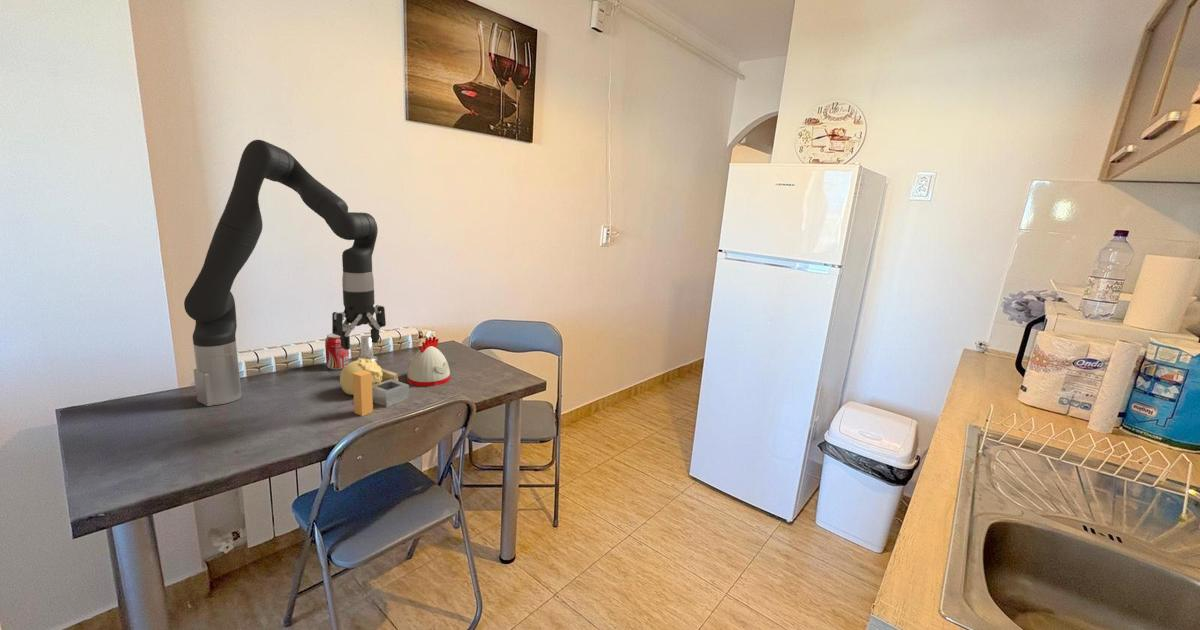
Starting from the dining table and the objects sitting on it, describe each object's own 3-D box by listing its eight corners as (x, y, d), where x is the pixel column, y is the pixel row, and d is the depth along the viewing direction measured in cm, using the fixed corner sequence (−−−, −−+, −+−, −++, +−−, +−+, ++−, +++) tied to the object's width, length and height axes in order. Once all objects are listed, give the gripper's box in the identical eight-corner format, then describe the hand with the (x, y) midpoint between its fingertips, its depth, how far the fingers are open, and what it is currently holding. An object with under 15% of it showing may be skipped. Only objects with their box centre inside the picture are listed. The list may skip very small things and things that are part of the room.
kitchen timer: (458, 377, 164) (458, 336, 160) (429, 389, 151) (428, 346, 148) (428, 369, 169) (428, 329, 166) (398, 380, 157) (397, 338, 153)
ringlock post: (365, 380, 154) (364, 340, 151) (354, 376, 157) (352, 337, 154) (381, 375, 160) (380, 336, 156) (370, 371, 162) (368, 333, 159)
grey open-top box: (386, 407, 137) (386, 392, 136) (369, 400, 140) (368, 386, 139) (409, 398, 144) (408, 384, 143) (391, 392, 147) (391, 378, 146)
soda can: (329, 364, 166) (327, 332, 164) (351, 363, 168) (349, 332, 166) (324, 371, 160) (322, 337, 157) (347, 370, 162) (345, 337, 159)
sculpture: (385, 395, 144) (384, 363, 142) (341, 401, 138) (339, 367, 136) (380, 383, 154) (379, 352, 151) (339, 387, 147) (337, 355, 145)
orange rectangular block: (362, 416, 130) (360, 376, 127) (354, 412, 132) (352, 373, 129) (373, 411, 133) (371, 372, 130) (365, 408, 135) (363, 369, 132)
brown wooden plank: (394, 389, 149) (393, 375, 148) (369, 380, 155) (369, 366, 153) (398, 388, 150) (397, 373, 149) (373, 379, 156) (373, 365, 155)
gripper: (342, 293, 116) (345, 354, 120) (390, 287, 129) (392, 342, 132) (323, 289, 120) (327, 348, 123) (373, 283, 132) (375, 337, 136)
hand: (361, 345), depth 128 cm, fingers open, 8 cm apart
